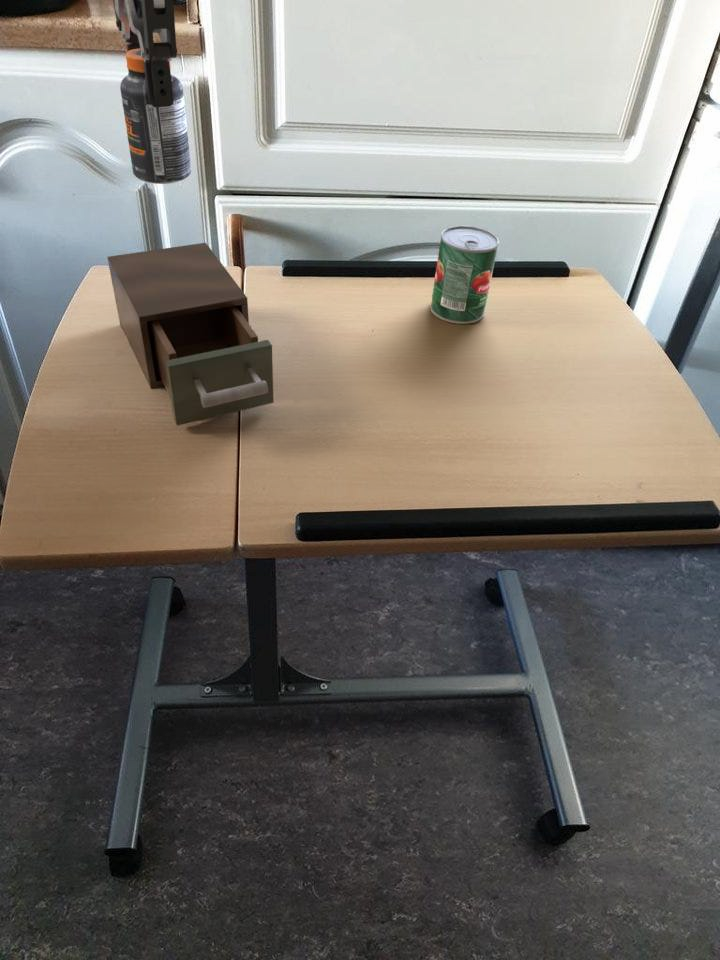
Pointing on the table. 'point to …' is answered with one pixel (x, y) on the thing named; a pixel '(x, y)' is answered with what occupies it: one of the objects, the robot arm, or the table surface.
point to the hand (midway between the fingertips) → (152, 95)
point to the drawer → (211, 363)
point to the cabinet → (168, 292)
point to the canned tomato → (463, 274)
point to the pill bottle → (154, 128)
